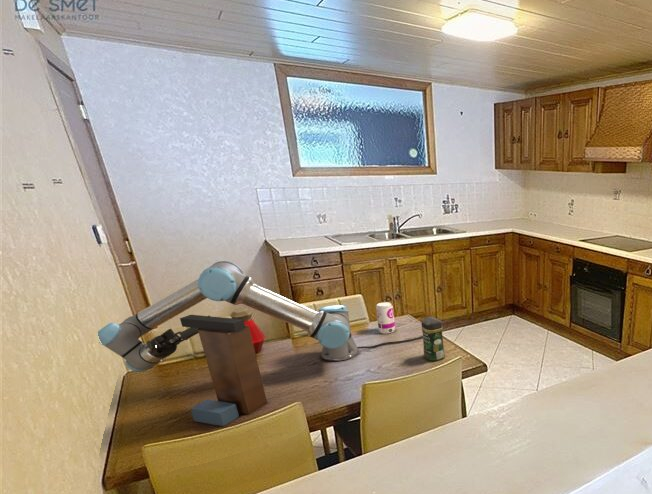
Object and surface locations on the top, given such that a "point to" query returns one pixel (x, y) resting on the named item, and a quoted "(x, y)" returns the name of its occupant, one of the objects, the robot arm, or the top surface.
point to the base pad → (215, 412)
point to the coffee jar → (432, 338)
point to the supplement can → (385, 317)
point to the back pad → (212, 323)
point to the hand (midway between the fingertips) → (192, 325)
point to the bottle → (250, 327)
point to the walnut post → (234, 368)
